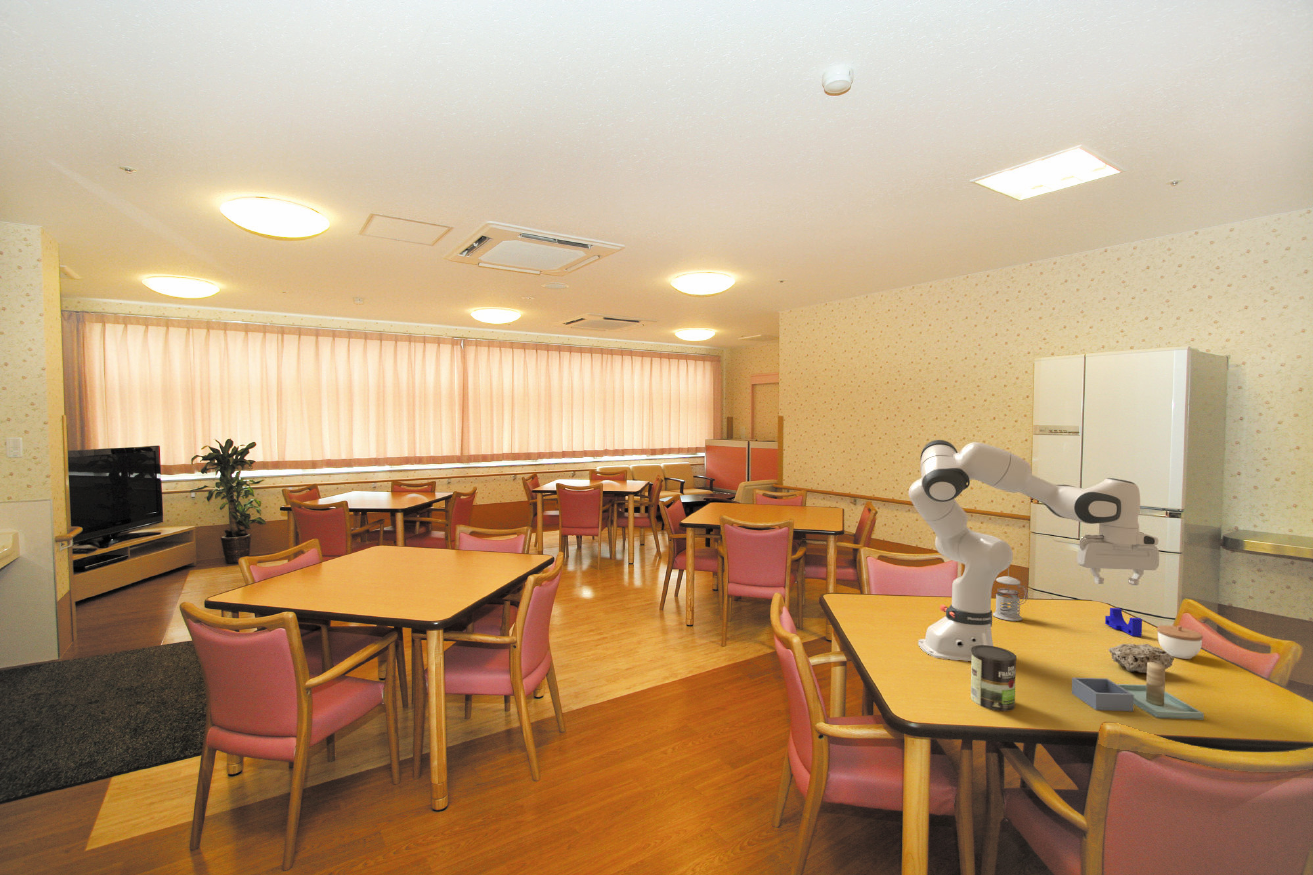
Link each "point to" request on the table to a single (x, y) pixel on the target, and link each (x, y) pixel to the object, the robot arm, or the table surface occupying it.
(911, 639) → the table surface
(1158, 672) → the dowel
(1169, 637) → the lidded jar
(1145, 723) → the table surface
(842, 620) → the table surface
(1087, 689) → the grey open box
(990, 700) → the coffee can
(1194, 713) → the tray
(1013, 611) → the french press
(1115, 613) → the cable clip
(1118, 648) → the pumice stone
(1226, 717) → the table surface
